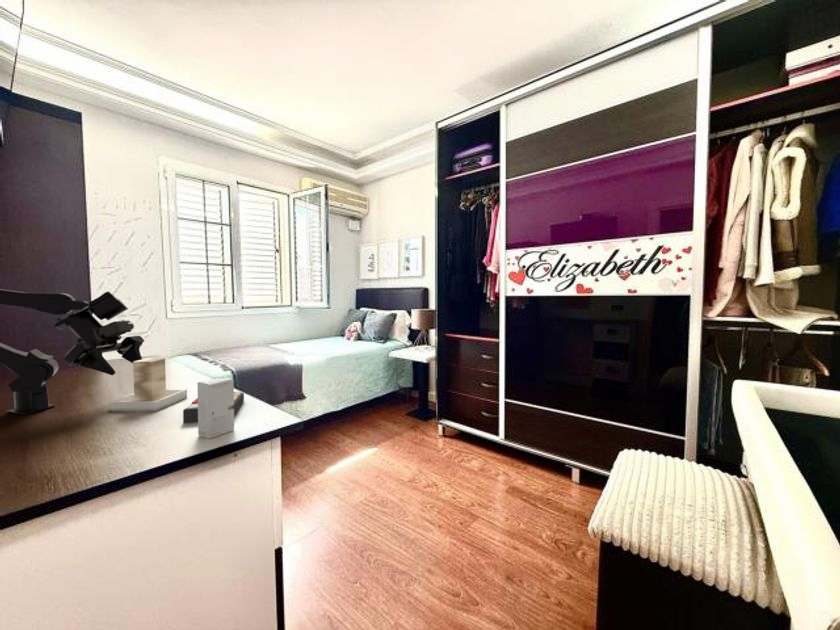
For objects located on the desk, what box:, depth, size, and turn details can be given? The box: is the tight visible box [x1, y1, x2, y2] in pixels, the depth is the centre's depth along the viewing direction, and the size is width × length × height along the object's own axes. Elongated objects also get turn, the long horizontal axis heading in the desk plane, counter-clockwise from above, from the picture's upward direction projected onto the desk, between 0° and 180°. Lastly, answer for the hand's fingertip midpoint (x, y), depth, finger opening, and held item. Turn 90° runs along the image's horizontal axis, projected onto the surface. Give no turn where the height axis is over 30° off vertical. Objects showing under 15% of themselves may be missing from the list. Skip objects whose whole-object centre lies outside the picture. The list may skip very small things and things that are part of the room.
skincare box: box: [196, 376, 235, 440], centre depth 77 cm, size 6×4×12 cm
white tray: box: [108, 388, 188, 413], centre depth 96 cm, size 12×12×2 cm
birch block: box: [132, 357, 167, 402], centre depth 95 cm, size 5×5×12 cm
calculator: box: [182, 391, 245, 424], centre depth 91 cm, size 11×4×15 cm
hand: (129, 370), depth 95 cm, fingers open, 9 cm apart
